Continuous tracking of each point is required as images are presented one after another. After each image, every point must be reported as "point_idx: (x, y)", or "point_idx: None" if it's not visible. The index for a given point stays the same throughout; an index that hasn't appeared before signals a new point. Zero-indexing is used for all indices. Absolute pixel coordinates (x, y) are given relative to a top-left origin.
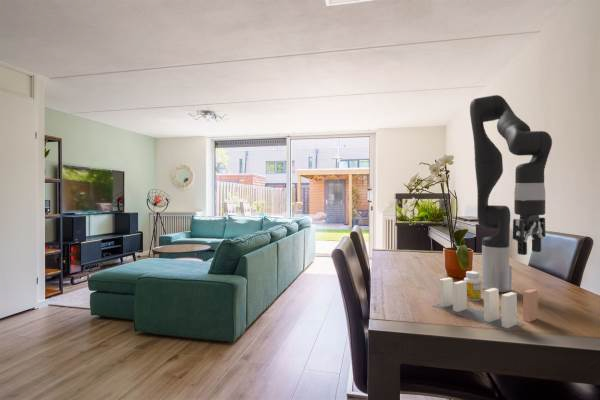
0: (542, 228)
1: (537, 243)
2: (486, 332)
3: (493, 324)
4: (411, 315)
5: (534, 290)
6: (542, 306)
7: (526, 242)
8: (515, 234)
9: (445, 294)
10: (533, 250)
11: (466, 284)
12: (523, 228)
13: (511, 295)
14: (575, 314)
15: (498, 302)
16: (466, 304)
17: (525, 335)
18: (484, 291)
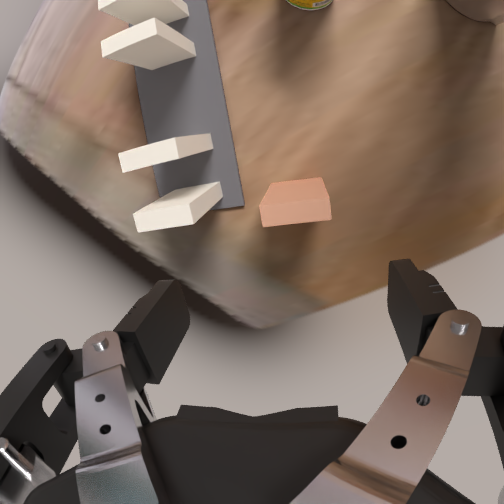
0: (502, 448)
1: (405, 335)
2: (125, 194)
3: (166, 172)
4: (57, 65)
5: (315, 217)
6: (450, 140)
7: (152, 382)
8: (43, 378)
9: (136, 17)
10: (392, 270)
11: (160, 37)
12: (53, 463)
13: (161, 228)
14: (453, 221)
15: (196, 153)
16: (189, 53)
17: (191, 240)
18: (120, 155)
